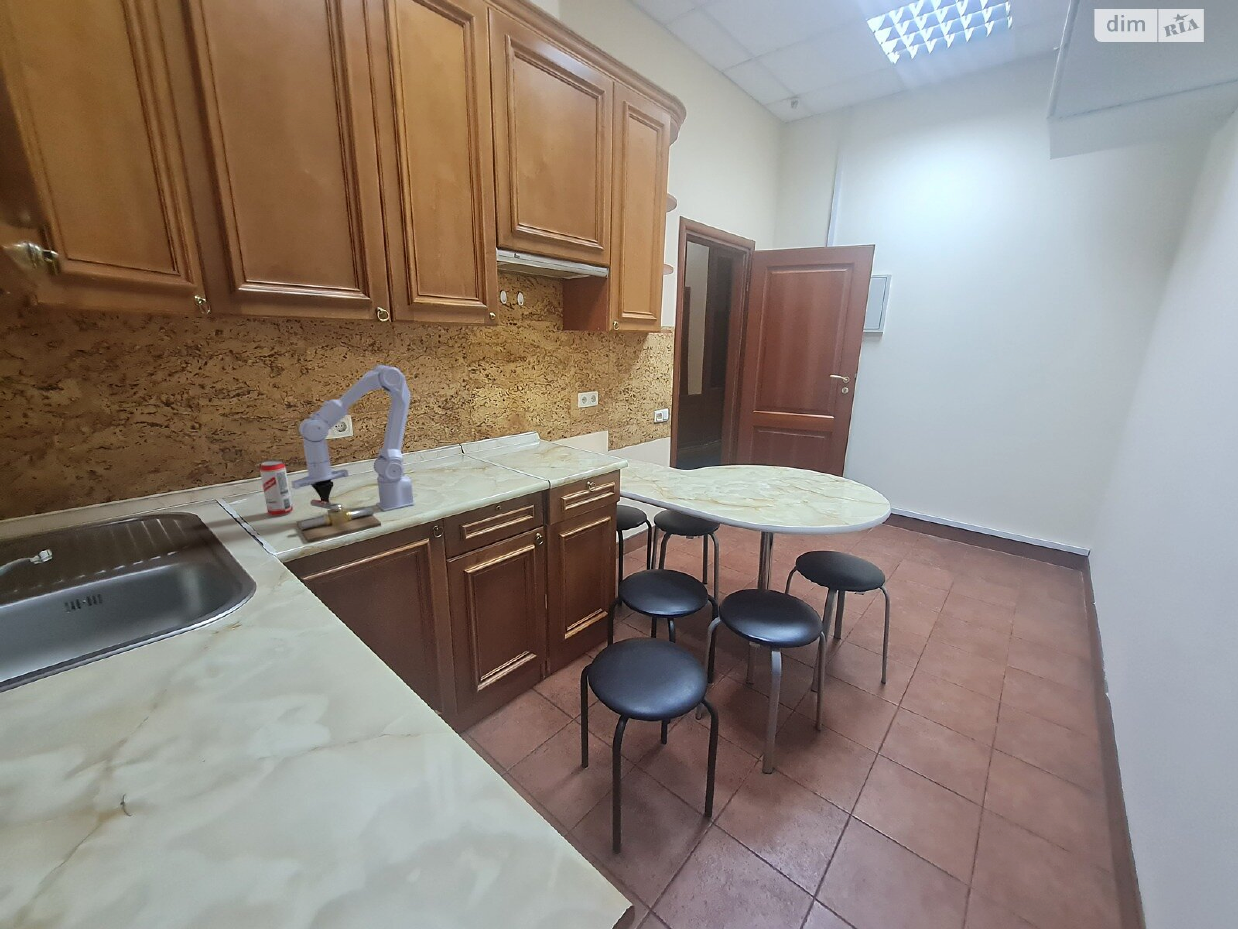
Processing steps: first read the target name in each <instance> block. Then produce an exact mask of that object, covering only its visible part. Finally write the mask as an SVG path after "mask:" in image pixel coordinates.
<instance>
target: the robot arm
mask: <svg viewBox="0 0 1238 929" xmlns="http://www.w3.org/2000/svg"><path fill="white" fill-rule="evenodd" d="M371 369H372V370H368V371H367V372H366V373H365V374H364V375H363V376H362V377H360V378H359V380H357V382H355V383H354V384H353V385H352V386H351V387H350V388H349V389H348V390H347V391H346V392H345V393H343V395H341V396H340V397H339V399H330V400H329V401H327V400H325V401H324V402H323V403H322V407H320V408H319V409H318V410H316V412H315V413H311V414H309V417H310V418H306V419H304V420H303V421H301V422H300V424H299V428H298V429H297V430H298V433H299V434H300V435H301V436H302V440H303V441H302V443H303V451H304V457H305V462H306V469H307V474H308V475H307V476H304V477H301V478H300V479H299V478H298V479H296V480H292V481H291V487H292V488H293V489H295V490H299V489H300V488H304V487H308V486H311V487H312V488H313V490H314V491H315V493H317V494H318V496H319V498H320V500H321V501H326V502H330V495H331V491H332V489H333V487H334V482H333V481H332V480H337V479H341V478H349V470H348V469H338V470H332V466H331V464H332V463H331V459H330V454H329V453H330V452H329V447H328V443H327V436H328V434H329V430H332V428H334V426H336V425H337V424H338V423H339V422H341V421H342V419H345V417H346V416H347V415H348V413H349V407H351V406H352V405H353V404H354V403H356V402H357V401H359V399H361V398H363V396H364V395H366V394H367V393H369V392H370V391H374V390H375V391H376V390H384V391H385V392H386V393H387V394H388V396H389V397H390V398H391V401H390V406H389V410H388V415H387V421H386V428H385V433H384V438H383V443H382V444H383V445H382V448H381V449H380V450H379V452H378V456H377V458H376V459H375V460H374V463H373V469H374V471H375V473H377V474H378V475H377V478H376V480H377V487H378V490H377V491H378V496H379V502H376V503H375V505H376V506H377V507H378V508H380V509H381V510H382V511H383V512H386V511H391V510H395V509H396V510H397V509H401V508H405V507H409V506H413V505H415V502H414V501H415V500H414V494H413V493H414V492H413V485H412V484H413V483H412V482H411V478H410V477H409V476H405V475H404V474H405V468H404V465H403V460H404V457H403V453H402V447H403V442H404V441H403V440H404V435H405V430H406V425H407V418H408V414H409V409H410V402H411V398H412V397H411V393H410V389H409V387H408V385H407V381H406V376H405V374H403V372H401V370H400V369H398V368H397V367H395V366H387V365H385V364H379V365H378V364H377V365H375V366H374V367H373V368H371ZM403 475H404V476H403Z"/></svg>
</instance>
